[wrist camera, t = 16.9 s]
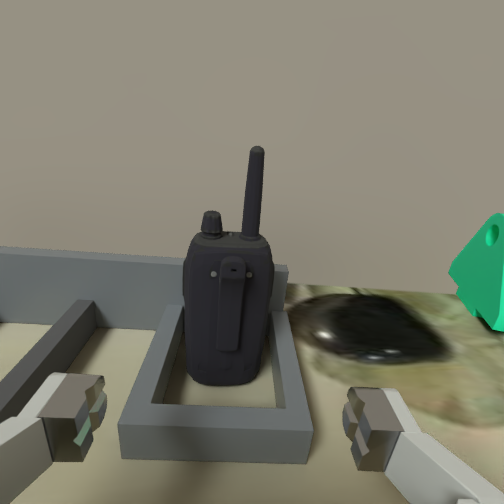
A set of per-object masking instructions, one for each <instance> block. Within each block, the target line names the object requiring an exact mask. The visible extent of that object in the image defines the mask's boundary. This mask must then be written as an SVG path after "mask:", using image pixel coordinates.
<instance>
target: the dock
mask: <svg viewBox="0 0 504 504" xmlns="http://www.w3.org/2000/svg"><path fill="white" fill-rule="evenodd" d="M185 259H186V258H171V257H157V256H141V255H126V254H125V255H124V254H111V253H110V254H109V253H96V252H95V253H94V252H79V251H66V250H50V249H35V248H19V247H5V246H0V322H11V323H30V324H49V325H54V324H55V323H56V322H57V321H58V320H59V319H60V318H61V317H62V315H63V314H64V313H65V312H66V311H67V310H68V309H69V308H70V307H71V306H72V305H73V304H74V303H75V302H76V300H77V299H79V300H94V307H95V315H96V322H97V327H107V328H126V329H145V330H156V333H155V335H154V338H153V340H152V342H151V345H150V347H149V349H148V352H147V354H146V357H145V359H144V361H143V364H142V366H141V369H140V371H139V373H138V376H137V378H136V381H135V383H134V385H133V388H132V390H131V393H130V395H129V397H128V400H127V402H126V405H125V407H124V409H123V412H122V414H121V417H120V419H119V421H118V424H117V425H118V433H119V441H120V449H121V457H122V459H149V460H184V461H218V462H253V463H288V464H306V462H307V457H308V453H309V449H310V445H311V441H312V436H313V432H314V430H313V425H312V421H311V417H310V412H309V408H308V403H307V399H306V394H305V390H304V386H303V381H302V377H301V372H300V368H299V364H298V359H297V355H296V350H295V346H294V342H293V337H292V333H291V328H290V324H289V320H288V315H287V311H283V307H284V300H285V294H286V287H287V280H288V273H289V271H288V269H287V265H278V264H274V266H275V271H274V281H273V289H272V296H271V298H270V303H269V311H268V318H267V326H266V334H265V336H268V337H269V346H270V354H271V363H272V372H273V380H274V389H275V398H276V406H277V408H253V407H228V406H202V405H176V404H162V402H163V399H164V395H165V392H166V388H167V385H168V381H169V378H170V374H171V371H172V368H173V364H174V361H175V357H176V354H177V350H178V347H179V343H180V340H181V336H182V333H183V332H185V302H184V297H183V295H182V294H183V292H182V277H183V262H184V260H185Z"/></svg>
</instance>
